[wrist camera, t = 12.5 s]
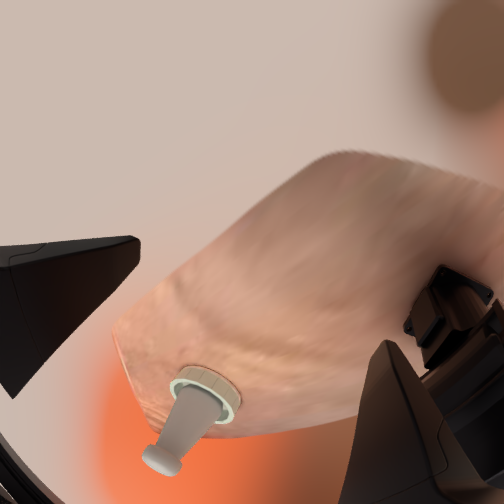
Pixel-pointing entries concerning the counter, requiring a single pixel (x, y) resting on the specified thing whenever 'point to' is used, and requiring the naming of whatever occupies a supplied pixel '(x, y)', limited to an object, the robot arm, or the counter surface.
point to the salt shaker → (183, 428)
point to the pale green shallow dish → (209, 389)
